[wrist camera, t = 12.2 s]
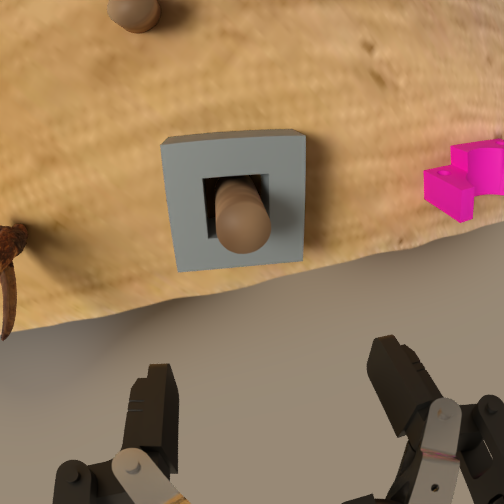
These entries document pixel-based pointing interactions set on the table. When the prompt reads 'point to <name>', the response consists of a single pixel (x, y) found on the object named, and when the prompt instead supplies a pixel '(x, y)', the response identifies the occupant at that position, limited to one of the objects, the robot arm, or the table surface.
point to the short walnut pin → (134, 14)
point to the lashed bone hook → (10, 271)
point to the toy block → (466, 178)
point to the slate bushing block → (232, 164)
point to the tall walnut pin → (240, 215)
